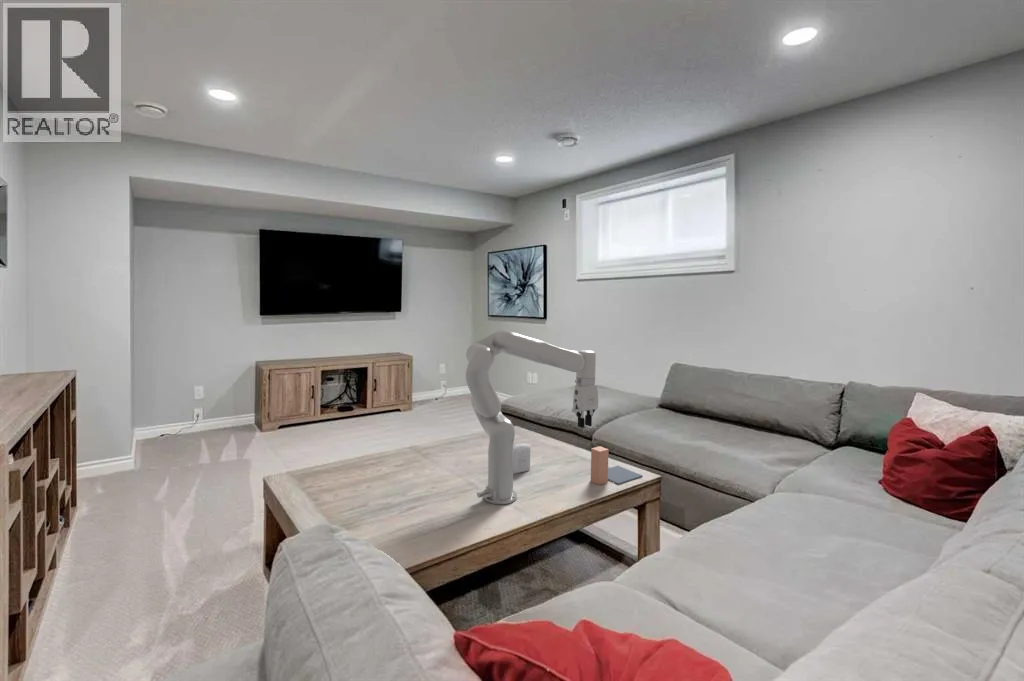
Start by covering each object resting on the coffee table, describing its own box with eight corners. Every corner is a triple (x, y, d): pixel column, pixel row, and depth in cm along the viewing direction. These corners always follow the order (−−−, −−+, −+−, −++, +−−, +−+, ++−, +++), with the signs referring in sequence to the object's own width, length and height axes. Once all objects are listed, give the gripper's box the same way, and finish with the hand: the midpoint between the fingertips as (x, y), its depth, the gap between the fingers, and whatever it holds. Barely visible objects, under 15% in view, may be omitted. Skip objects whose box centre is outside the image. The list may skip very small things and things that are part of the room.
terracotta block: (599, 484, 197) (600, 451, 195) (590, 480, 201) (591, 448, 199) (607, 481, 200) (608, 449, 198) (599, 478, 204) (599, 446, 202)
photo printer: (526, 467, 216) (526, 440, 214) (531, 470, 212) (531, 443, 211) (506, 472, 210) (506, 444, 209) (512, 475, 206) (512, 447, 205)
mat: (618, 484, 197) (618, 483, 197) (594, 473, 208) (594, 472, 208) (642, 476, 205) (642, 475, 205) (617, 466, 217) (617, 465, 217)
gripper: (576, 385, 183) (575, 431, 185) (607, 380, 192) (605, 425, 194) (563, 382, 189) (563, 427, 191) (593, 377, 198) (592, 421, 200)
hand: (584, 425), depth 192 cm, fingers open, 3 cm apart
